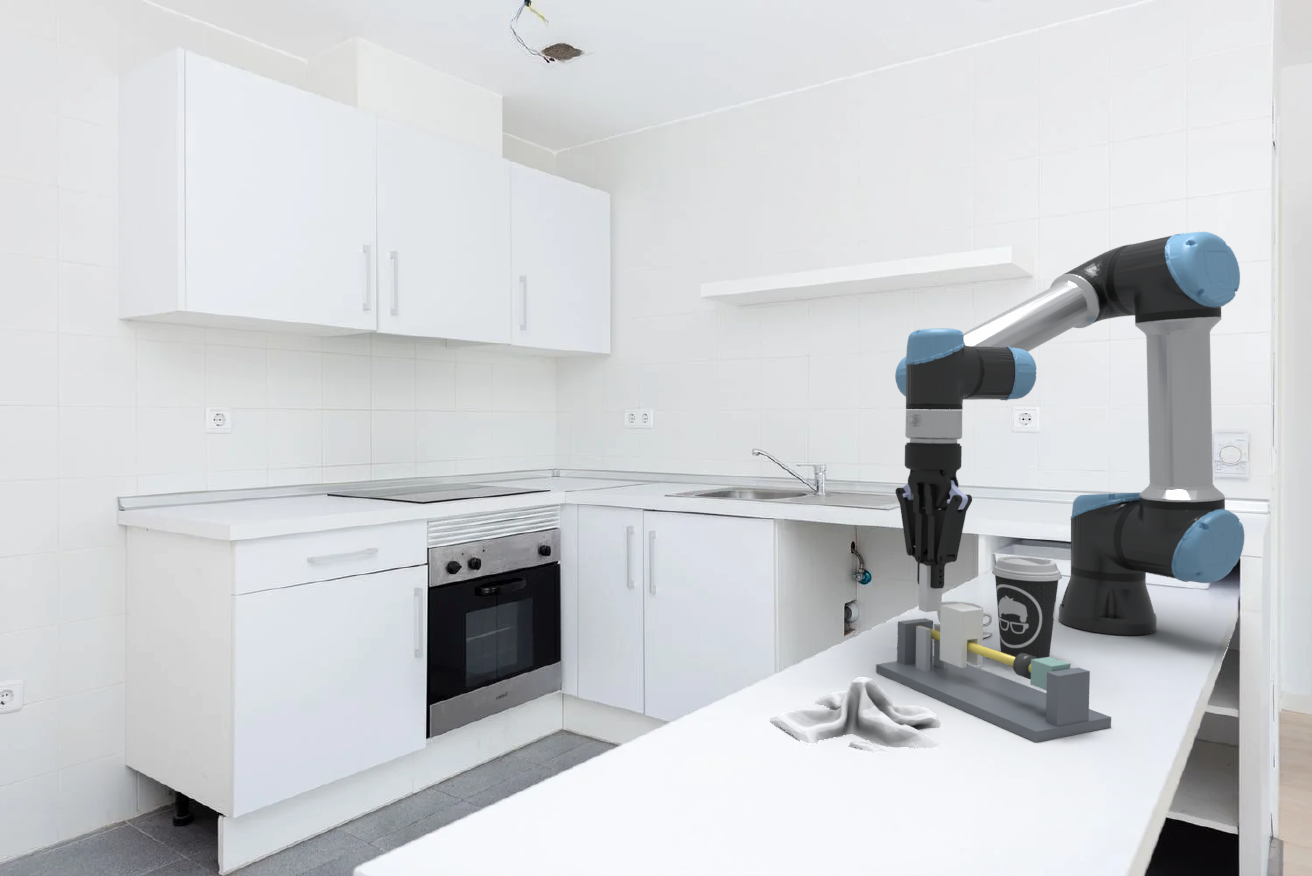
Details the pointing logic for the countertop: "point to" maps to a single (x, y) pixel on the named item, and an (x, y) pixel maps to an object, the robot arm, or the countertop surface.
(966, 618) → the white rectangular block
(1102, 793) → the countertop surface
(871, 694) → the cloth
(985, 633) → the teacup
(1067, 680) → the linear slide fixture
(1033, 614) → the coffee cup
